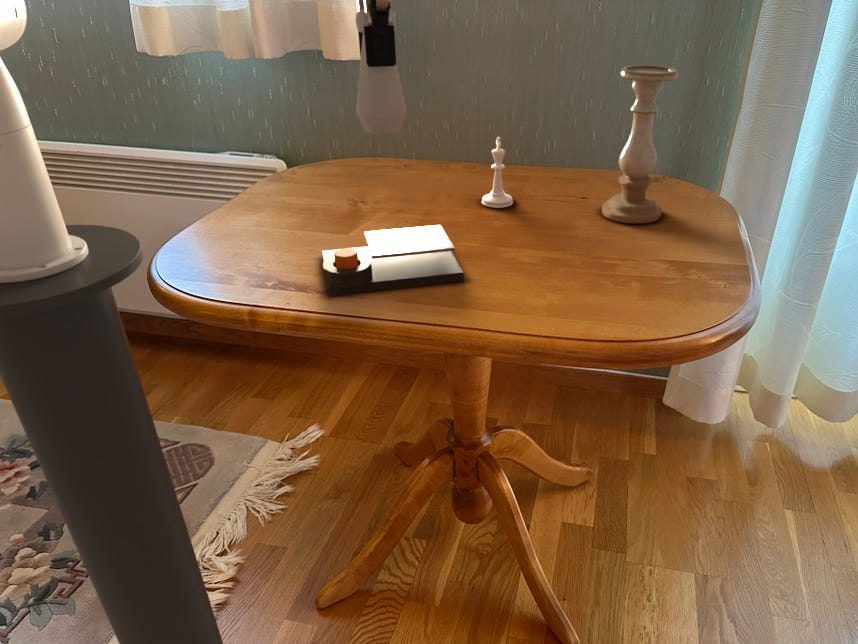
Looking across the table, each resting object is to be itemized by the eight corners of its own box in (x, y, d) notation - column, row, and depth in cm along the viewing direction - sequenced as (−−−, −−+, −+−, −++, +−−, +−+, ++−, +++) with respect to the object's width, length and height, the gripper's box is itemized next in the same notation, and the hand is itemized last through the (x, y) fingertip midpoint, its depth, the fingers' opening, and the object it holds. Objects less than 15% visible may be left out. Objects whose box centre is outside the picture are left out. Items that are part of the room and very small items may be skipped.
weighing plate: (372, 259, 79) (371, 255, 79) (364, 234, 86) (363, 231, 86) (454, 250, 82) (454, 247, 82) (440, 227, 88) (440, 224, 88)
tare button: (336, 272, 77) (335, 257, 76) (335, 263, 79) (333, 249, 78) (359, 269, 78) (358, 255, 77) (357, 260, 80) (355, 247, 79)
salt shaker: (350, 134, 79) (338, 9, 72) (369, 123, 83) (360, 5, 76) (397, 138, 77) (390, 11, 70) (414, 126, 82) (408, 6, 75)
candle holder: (642, 229, 96) (663, 77, 86) (590, 215, 101) (604, 69, 90) (671, 213, 102) (694, 68, 91) (620, 200, 107) (637, 61, 96)
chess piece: (508, 196, 108) (510, 132, 103) (516, 206, 104) (518, 140, 99) (478, 198, 107) (478, 134, 102) (485, 208, 103) (486, 142, 98)
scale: (327, 299, 77) (324, 275, 76) (320, 259, 87) (317, 237, 85) (465, 284, 81) (465, 260, 79) (444, 247, 90) (443, 225, 89)
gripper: (318, -132, 73) (336, 53, 82) (334, -148, 59) (354, 76, 69) (387, -130, 74) (397, 51, 84) (418, -145, 61) (426, 73, 70)
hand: (377, 60), depth 76 cm, fingers closed on salt shaker, 4 cm apart
